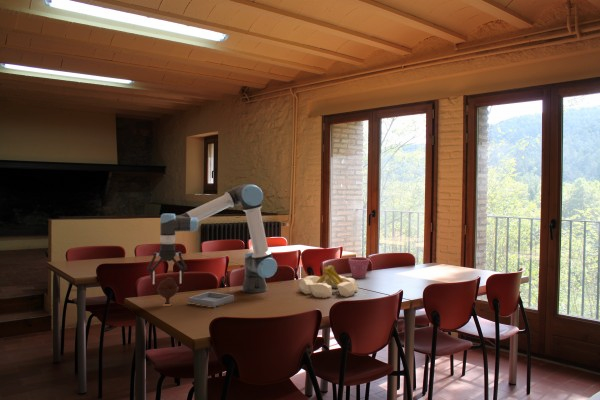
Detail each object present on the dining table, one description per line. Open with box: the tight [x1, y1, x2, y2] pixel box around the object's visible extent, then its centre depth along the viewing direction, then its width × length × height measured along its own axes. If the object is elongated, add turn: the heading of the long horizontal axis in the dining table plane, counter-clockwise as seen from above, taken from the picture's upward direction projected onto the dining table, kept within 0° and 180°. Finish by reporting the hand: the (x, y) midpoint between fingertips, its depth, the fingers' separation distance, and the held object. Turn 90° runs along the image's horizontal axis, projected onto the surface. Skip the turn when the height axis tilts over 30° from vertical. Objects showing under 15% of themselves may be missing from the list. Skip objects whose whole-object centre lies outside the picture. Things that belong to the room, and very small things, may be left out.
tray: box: [187, 291, 235, 307], centre depth 266 cm, size 17×17×4 cm
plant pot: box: [348, 257, 370, 279], centre depth 345 cm, size 14×14×13 cm
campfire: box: [298, 264, 359, 299], centre depth 296 cm, size 35×34×17 cm
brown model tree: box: [156, 276, 180, 304], centre depth 260 cm, size 11×11×15 cm
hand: (167, 283), depth 259 cm, fingers open, 13 cm apart
